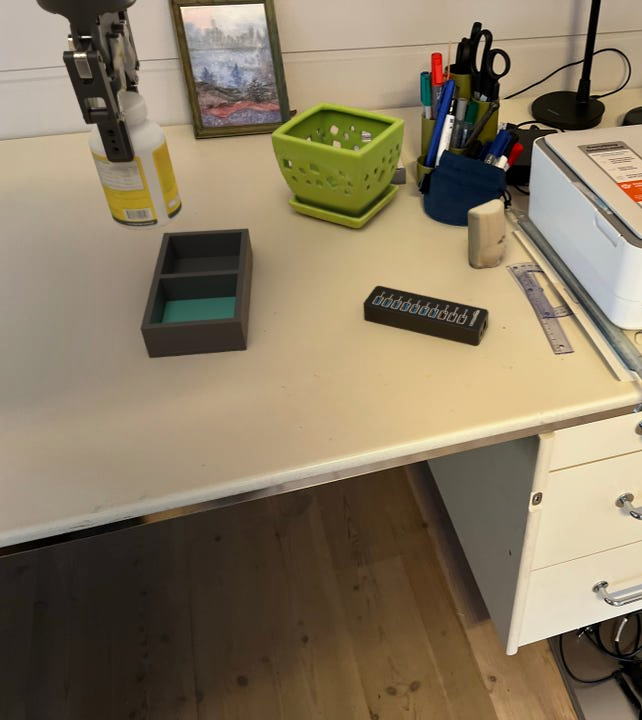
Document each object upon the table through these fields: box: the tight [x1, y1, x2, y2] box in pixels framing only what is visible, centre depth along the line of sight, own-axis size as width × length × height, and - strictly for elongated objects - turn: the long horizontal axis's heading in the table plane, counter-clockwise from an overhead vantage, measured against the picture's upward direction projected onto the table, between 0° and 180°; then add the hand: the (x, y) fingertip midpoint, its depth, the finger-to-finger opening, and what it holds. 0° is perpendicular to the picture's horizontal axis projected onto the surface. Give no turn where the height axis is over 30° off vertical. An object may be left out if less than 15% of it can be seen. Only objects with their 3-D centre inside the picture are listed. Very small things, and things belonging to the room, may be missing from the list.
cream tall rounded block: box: [467, 198, 507, 269], centre depth 99 cm, size 6×5×8 cm
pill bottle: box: [87, 91, 183, 231], centre depth 70 cm, size 6×6×12 cm
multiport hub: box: [362, 285, 490, 347], centre depth 90 cm, size 4×14×2 cm, turn 73°
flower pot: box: [270, 101, 405, 229], centre depth 106 cm, size 14×14×13 cm
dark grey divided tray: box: [140, 227, 254, 359], centre depth 90 cm, size 20×10×4 cm, turn 11°
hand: (128, 142), depth 69 cm, fingers closed on pill bottle, 6 cm apart
